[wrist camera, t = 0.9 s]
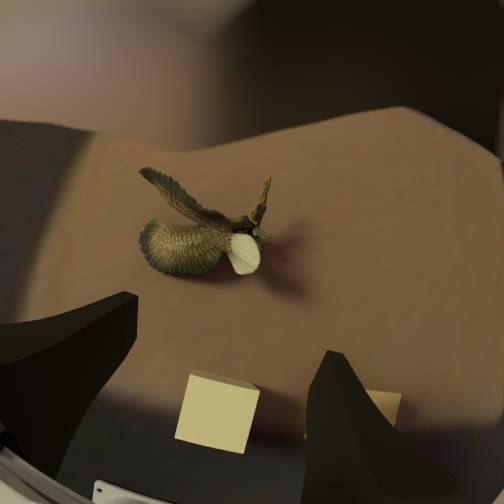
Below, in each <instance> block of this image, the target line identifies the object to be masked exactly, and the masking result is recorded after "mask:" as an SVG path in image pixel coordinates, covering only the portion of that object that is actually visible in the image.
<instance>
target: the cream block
mask: <svg viewBox="0 0 504 504" xmlns="http://www.w3.org/2000/svg"><path fill="white" fill-rule="evenodd" d="M259 393H260V391H259V390H258V389H257V388H256V387H255V386H254V385H253V384H251V383H248V382H244V381H239V380H235V379H231V378H227V377H223V376H219V375H215V374H211V373H207V372H203V371H199V370H196V369H193V371H192V372H191V374H190V377H189V381H188V385H187V389H186V393H185V397H184V401H183V405H182V409H181V414H180V418H179V422H178V426H177V430H176V434H175V438H177V439H180V440H184V441H188V442H192V443H196V444H200V445H204V446H209V447H213V448H218V449H222V450H227V451H232V452H237V453H244V450H245V446H246V442H247V439H248V435H249V431H250V428H251V424H252V420H253V416H254V412H255V409H256V405H257V401H258V397H259Z"/></svg>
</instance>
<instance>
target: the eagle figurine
mask: <svg viewBox="0 0 504 504" xmlns="http://www.w3.org/2000/svg"><path fill="white" fill-rule="evenodd" d="M138 172H139V173H140V174H142V176H143V177H144V178H145V179H147V180H148V181H149V182H151V183H152V184H154V185H155V186H156V187H157V189H158V191H159V192H160V194H161V196H162V197H163V199H164V200H165V201H166V203H167V204H168V205H170V206H171V207H172V208H174V209H175V210H177V211H178V212H179V213H181V214H182V215H184V216H186V217H187V218H189V219H191V220H193V221H194V222H197V223H199V224H198V225H193V226H180V225H173V224H168V223H166V222H164V221H161V220H158V219H151V221H150V223H148V224H146V225H145V230H142V231H140V237H139V238H138V242H139V243H140V244H141V246H140V250H141V251H142V252H143V253H145V254H146V255H145V259H146V260H148V261H149V265H150V266H152V267H153V268H155V269H157V270H158V271H163V273H167V272H170V273H177V272H180V273H189V272H191V273H192V274H203V273H205V272H207V271H212V269H213V268H215V264H216V263H217V262H218V261H219V258H220V257H223V255H224V253H226V254H227V255H228V257H229V259H230V261H231V263H232V265H233V267H234V270H235V272H236V273H238V274H241V275H244V274H249V273H250V274H252V273H254V271H255V270H256V269H258V267H259V263H260V261H261V257H260V251H259V249H260V250H263V245H262V244H261V239H260V238H259V236H260V237H263V238H266V239H270V238H271V237H272V235H271V234H269V233H266V232H264V231H262V230H261V229H260V223H261V220H262V217H263V215H264V213H265V211H266V208H267V207H266V200H267V193H268V189H269V186H270V182H271V176H268V177H267V178H266V179H265V181H264V182H263V184H262V187H261V191H260V194H259V197H258V202H257V204H256V206H255V207H254V208H253V209H252V210H251V211H250V213H249V215H247V216H242V217H240V218H238V219H231V218H226V217H225V216H224V215H222V214H221V213H219V212H217V211H216V210H210V209H206V208H203V207H202V206H201V205H199V204H197V202H196V200H195V199H194V198H192V197H191V196H190V195H188V194H187V193H186V191H185V190H184V189H182V188H181V187H180V185H179V183H178V182H177V181H176V180H174V179H173V178H172V177H170V176H168V177H167V176H166V175H165V174H162V173H161V172H159V171H156V170H155V169H152V168H150V167H143V168H140V170H139V171H138ZM237 231H243V232H242V233H235V232H237ZM258 248H259V249H258Z"/></svg>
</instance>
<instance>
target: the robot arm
mask: <svg viewBox="0 0 504 504" xmlns="http://www.w3.org/2000/svg"><path fill="white" fill-rule="evenodd" d="M138 298H139V296H137V295H134V294H132V293H129V292H126V291H124V292H120V293H117V294H115V295H112V296H109V297H107V298H104V299H102V300H99V301H96V302H94V303H91V304H89V305H86V306H83V307H80V308H77V309H74V310H71V311H68V312H65V313H62V314H59V315H56V316H52V317H48V318H43V319H39V320H34V321H28V322H20V323H13V324H0V504H50V503H52V504H172V503H168V502H165V501H161V500H158V499H154V498H151V497H147V496H144V495H141V494H138V493H135V492H132V491H129V490H126V489H123V488H120V487H118V486H115V485H112V484H110V483H107V482H104V481H102V480H97V481H96V482H95V485H94V493H93V502H92V501H90V500H88V499H86V498H84V497H82V496H80V495H78V494H77V493H75V492H73V491H71V490H69V489H68V488H66V487H64V486H62V485H61V484H59V483H57V482H56V481H55V479H56V476H57V474H58V471H59V468H60V466H61V463H62V461H63V458H64V456H65V454H66V451H67V449H68V447H69V445H70V442H71V440H72V438H73V436H74V434H75V432H76V430H77V428H78V426H79V424H80V422H81V421H82V419H83V417H84V415H85V413H86V412H87V410H88V408H89V406H90V405H91V403H92V401H93V400H94V399H95V397H96V396H97V394H98V393H99V392H100V390H101V389H102V388H103V386H104V385H105V384H106V383H107V381H108V380H109V379H110V377H111V376H112V375H113V374H114V372H115V371H116V370H117V368H118V367H119V366H120V364H121V363H122V362H123V361H124V359H125V358H126V356H127V355H128V353H129V351H130V349H131V348H132V346H133V344H134V342H135V340H136V339H137V318H138ZM98 488H100V489H101V490H102V491H99V490H98ZM43 498H44V499H43ZM46 500H47V501H48V502H47V501H46ZM49 502H50V503H49ZM464 502H465V498H464V494H463V490H462V486H461V483H460V479H459V478H457V477H455V476H454V475H452V474H450V473H449V472H447V471H445V470H444V469H442V468H440V467H439V466H437V465H436V464H435V463H433V462H432V461H431V460H429V459H428V458H427V457H425V456H424V455H423V454H421V453H420V452H419V451H418V450H417V449H415V448H414V447H413V446H412V445H411V444H410V443H409V442H408V441H407V440H406V439H405V438H404V437H403V436H402V435H401V434H400V433H399V432H398V431H397V430H396V429H395V428H394V427H393V426H392V425H391V423H390V422H389V421H388V420H387V419H386V418H385V416H384V415H383V414H382V413H381V411H380V410H379V409H378V407H377V406H376V405H375V403H374V402H373V400H372V399H371V398H370V396H369V395H368V393H367V392H366V390H365V389H364V387H363V385H362V384H361V382H360V381H359V379H358V377H357V376H356V374H355V372H354V371H353V369H352V367H351V366H350V364H349V362H348V361H347V359H346V358H345V356H344V354H343V353H339V352H334V351H330V350H327V352H326V354H325V356H324V358H323V360H322V362H321V364H320V367H319V369H318V371H317V373H316V375H315V377H314V379H313V381H312V383H311V385H310V387H309V391H308V399H307V408H306V471H305V478H304V485H303V492H302V497H301V503H300V504H464Z"/></svg>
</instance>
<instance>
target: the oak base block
mask: <svg viewBox="0 0 504 504" xmlns="http://www.w3.org/2000/svg"><path fill="white" fill-rule="evenodd" d="M364 389H365V390H366V392H367V393H368V395H369V396H370V398H371V399H372V400H373V402H374V403H375V405H376V406H377V407H378V409H379V410H380V411H381V413H382V414H383V415H384V416H385V418H386V419H387V420H388V421H389V422H390V423H391V425H392V426H393V427H394V424H395V420H396V416H397V412H398V408H399V404H400V400H401V395H402V394H400V393H395V392H389V391H384V390H379V389H374V388H367V387H364ZM303 438H305V439H306V429H305V433H304V436H303Z"/></svg>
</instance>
